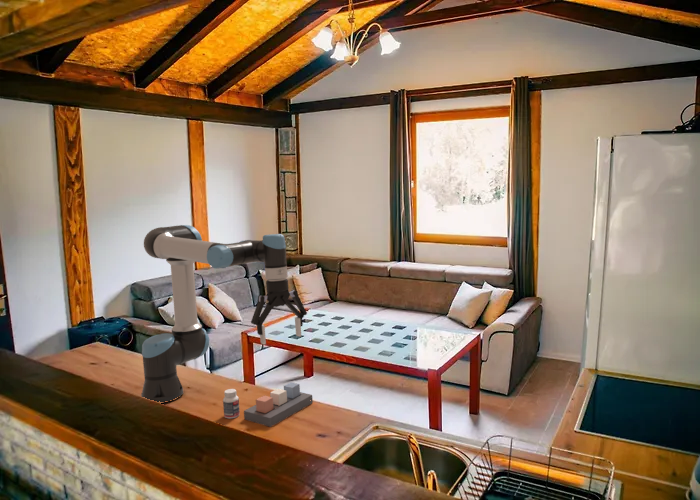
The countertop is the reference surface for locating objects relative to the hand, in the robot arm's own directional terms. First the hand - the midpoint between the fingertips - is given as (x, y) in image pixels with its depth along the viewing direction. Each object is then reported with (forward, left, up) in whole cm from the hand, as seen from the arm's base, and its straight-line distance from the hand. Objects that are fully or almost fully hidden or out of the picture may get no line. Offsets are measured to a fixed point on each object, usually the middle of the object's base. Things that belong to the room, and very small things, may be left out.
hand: (281, 339), depth 181 cm
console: (-1, -2, -25) cm, 25 cm away
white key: (-1, -2, -22) cm, 22 cm away
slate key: (-1, +5, -22) cm, 22 cm away
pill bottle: (-13, -13, -25) cm, 31 cm away
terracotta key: (-1, -9, -22) cm, 24 cm away
